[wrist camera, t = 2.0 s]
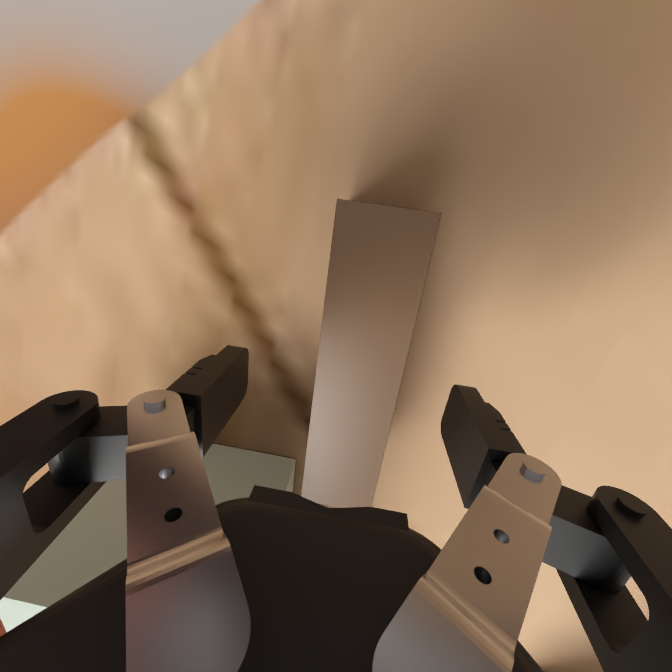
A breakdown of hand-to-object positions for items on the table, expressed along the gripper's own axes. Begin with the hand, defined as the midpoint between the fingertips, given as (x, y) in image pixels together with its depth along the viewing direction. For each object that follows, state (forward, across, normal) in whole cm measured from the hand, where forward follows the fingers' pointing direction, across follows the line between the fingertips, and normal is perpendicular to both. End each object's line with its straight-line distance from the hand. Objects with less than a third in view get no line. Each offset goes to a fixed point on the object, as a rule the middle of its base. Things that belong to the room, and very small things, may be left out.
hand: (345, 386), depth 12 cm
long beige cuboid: (+6, -1, 0) cm, 6 cm away
